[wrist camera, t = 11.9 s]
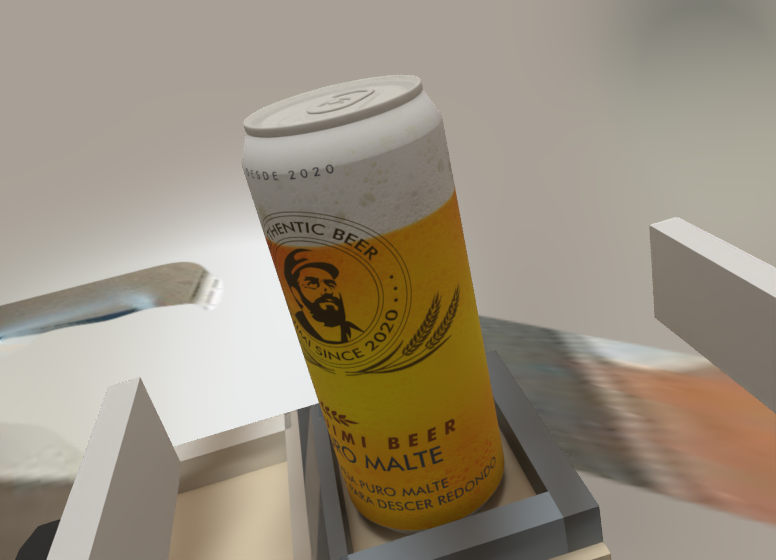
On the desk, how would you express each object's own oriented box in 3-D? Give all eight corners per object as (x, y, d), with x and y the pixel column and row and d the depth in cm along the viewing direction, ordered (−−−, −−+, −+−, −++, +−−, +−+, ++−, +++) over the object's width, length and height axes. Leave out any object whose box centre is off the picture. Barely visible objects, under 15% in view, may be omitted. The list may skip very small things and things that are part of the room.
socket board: (68, 759, 20) (27, 704, 19) (130, 506, 30) (105, 460, 29) (613, 578, 22) (606, 517, 20) (501, 393, 31) (492, 344, 30)
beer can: (324, 528, 25) (186, 140, 18) (392, 424, 29) (300, 86, 23) (477, 564, 22) (377, 119, 15) (525, 441, 26) (463, 61, 20)
